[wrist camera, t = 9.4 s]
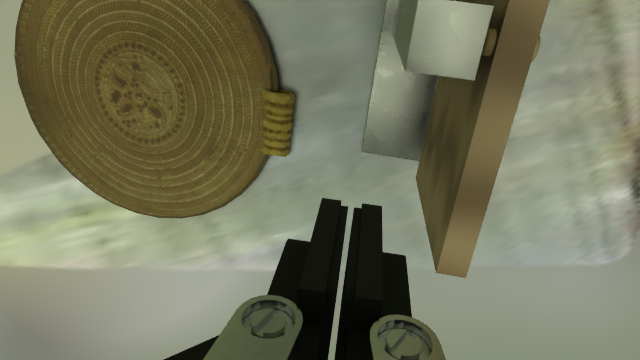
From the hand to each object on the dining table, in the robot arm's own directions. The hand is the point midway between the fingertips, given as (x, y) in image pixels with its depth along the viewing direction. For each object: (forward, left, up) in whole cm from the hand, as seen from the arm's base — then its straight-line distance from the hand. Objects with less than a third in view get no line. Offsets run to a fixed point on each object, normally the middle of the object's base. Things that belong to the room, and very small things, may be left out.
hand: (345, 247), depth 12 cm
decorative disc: (+5, -22, -32) cm, 39 cm away
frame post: (-5, +3, -31) cm, 32 cm away
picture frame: (-5, +6, -24) cm, 25 cm away
